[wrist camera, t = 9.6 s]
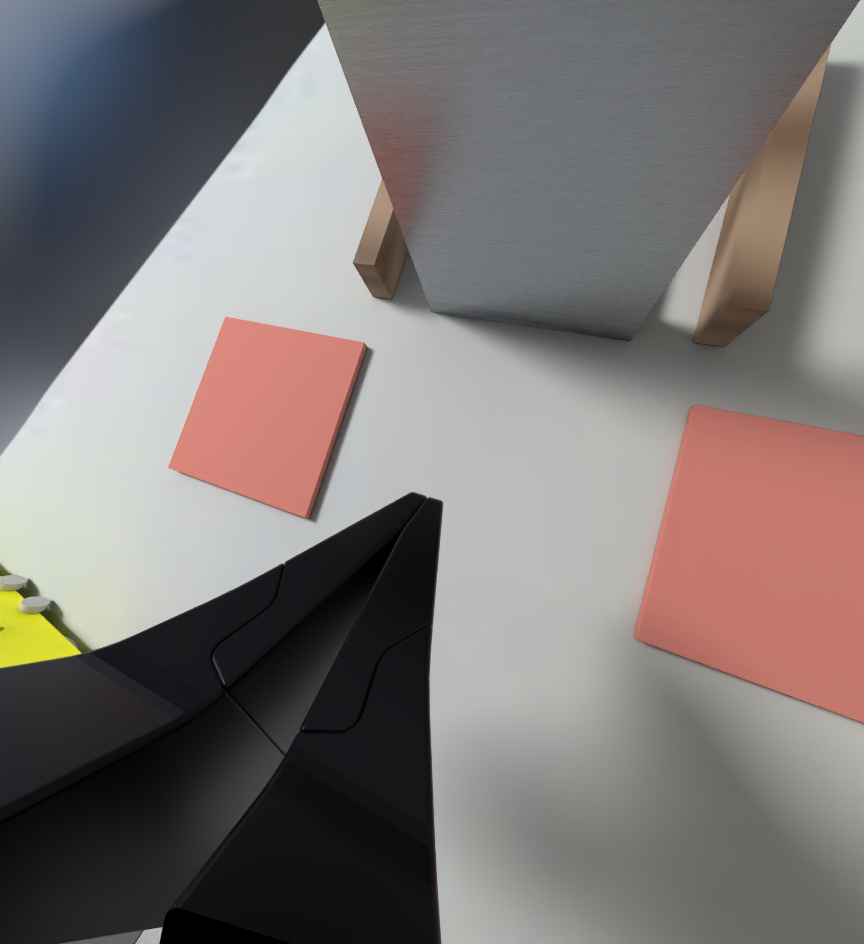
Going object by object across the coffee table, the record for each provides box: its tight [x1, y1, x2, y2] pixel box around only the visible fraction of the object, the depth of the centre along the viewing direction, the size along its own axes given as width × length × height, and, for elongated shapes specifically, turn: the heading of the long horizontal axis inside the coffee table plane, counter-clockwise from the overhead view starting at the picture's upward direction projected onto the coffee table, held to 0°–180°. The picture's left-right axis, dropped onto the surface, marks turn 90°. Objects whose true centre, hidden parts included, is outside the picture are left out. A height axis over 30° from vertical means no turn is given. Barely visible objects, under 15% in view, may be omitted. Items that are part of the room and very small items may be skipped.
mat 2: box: [634, 405, 864, 723], centre depth 12 cm, size 10×10×1 cm
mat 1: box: [168, 317, 367, 518], centre depth 19 cm, size 10×10×1 cm
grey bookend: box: [318, 0, 860, 342], centre depth 12 cm, size 12×10×11 cm
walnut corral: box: [353, 44, 831, 347], centre depth 16 cm, size 15×17×2 cm
